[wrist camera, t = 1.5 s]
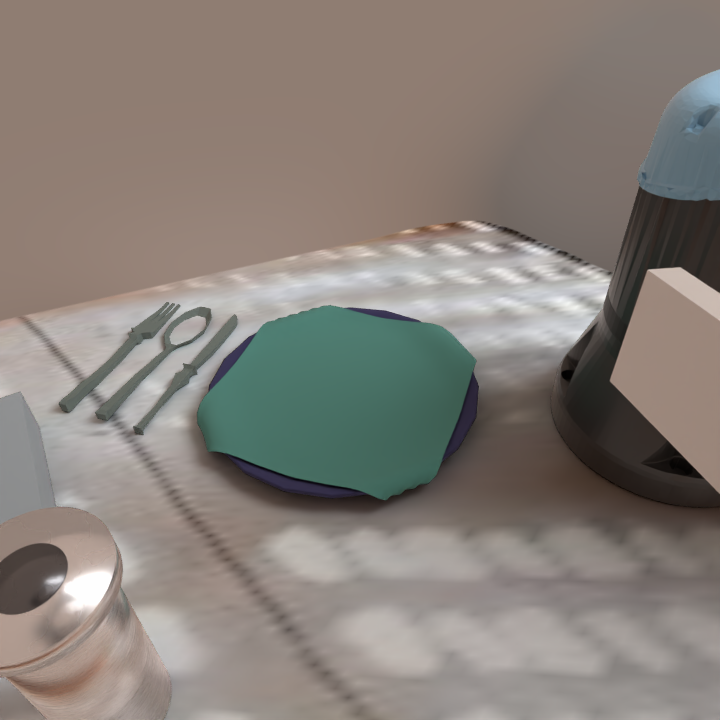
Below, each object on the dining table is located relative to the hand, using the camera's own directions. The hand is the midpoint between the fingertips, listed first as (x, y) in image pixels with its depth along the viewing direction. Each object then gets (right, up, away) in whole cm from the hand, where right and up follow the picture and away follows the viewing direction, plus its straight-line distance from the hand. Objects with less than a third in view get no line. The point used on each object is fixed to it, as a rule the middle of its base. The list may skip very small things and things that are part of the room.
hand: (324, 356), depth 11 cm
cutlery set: (-5, -3, +36) cm, 37 cm away
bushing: (-11, -17, +19) cm, 28 cm away
